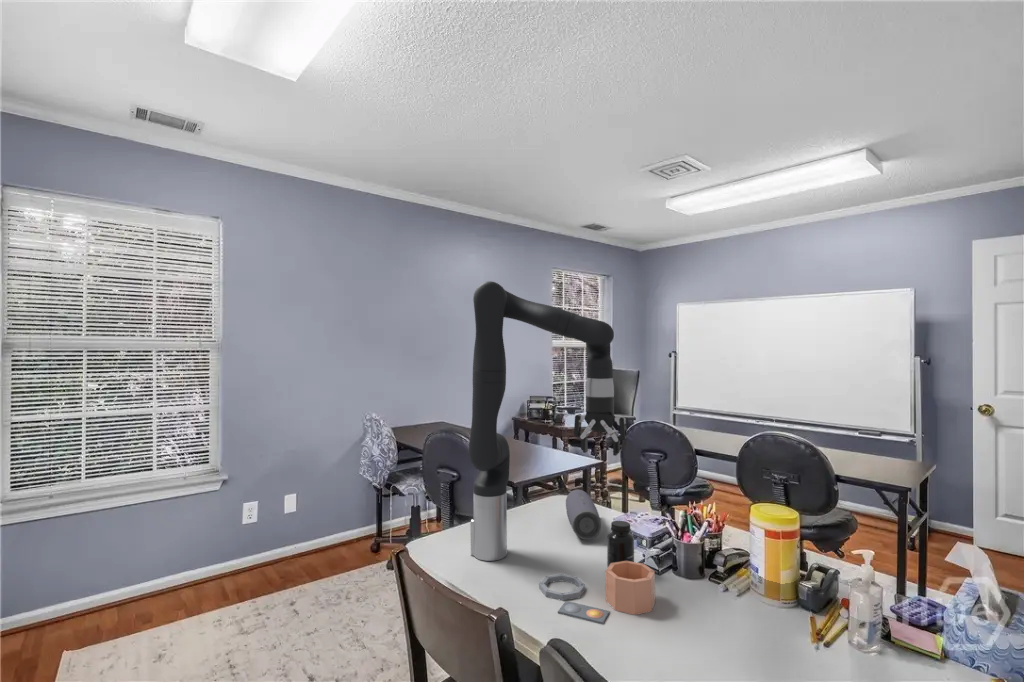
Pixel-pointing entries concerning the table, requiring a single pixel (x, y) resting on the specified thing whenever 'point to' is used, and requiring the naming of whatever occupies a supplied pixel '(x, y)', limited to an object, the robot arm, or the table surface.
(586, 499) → the bluetooth speaker
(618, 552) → the supplement bottle
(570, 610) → the card
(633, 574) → the octagonal planter pot
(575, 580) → the gray octagonal ring
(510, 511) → the table surface
